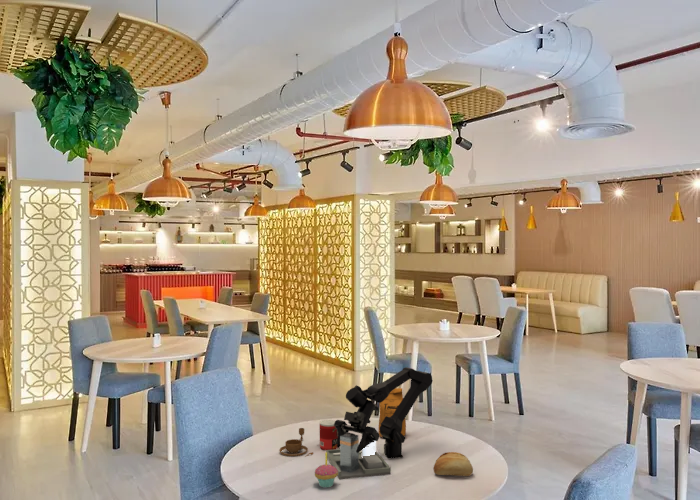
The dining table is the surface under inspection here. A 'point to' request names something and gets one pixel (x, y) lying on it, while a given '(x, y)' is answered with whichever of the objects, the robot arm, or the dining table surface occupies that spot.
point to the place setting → (295, 446)
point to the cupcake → (326, 474)
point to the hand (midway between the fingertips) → (347, 449)
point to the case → (360, 465)
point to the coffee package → (391, 407)
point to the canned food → (328, 435)
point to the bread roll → (453, 465)
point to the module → (349, 452)
